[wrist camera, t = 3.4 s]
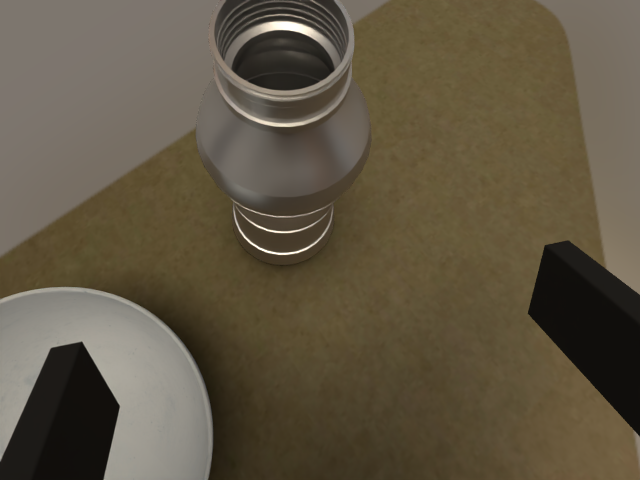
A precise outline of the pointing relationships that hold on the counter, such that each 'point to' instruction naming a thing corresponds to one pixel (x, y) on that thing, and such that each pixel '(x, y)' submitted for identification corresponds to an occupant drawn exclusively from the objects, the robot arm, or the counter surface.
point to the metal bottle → (282, 121)
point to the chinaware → (113, 377)
